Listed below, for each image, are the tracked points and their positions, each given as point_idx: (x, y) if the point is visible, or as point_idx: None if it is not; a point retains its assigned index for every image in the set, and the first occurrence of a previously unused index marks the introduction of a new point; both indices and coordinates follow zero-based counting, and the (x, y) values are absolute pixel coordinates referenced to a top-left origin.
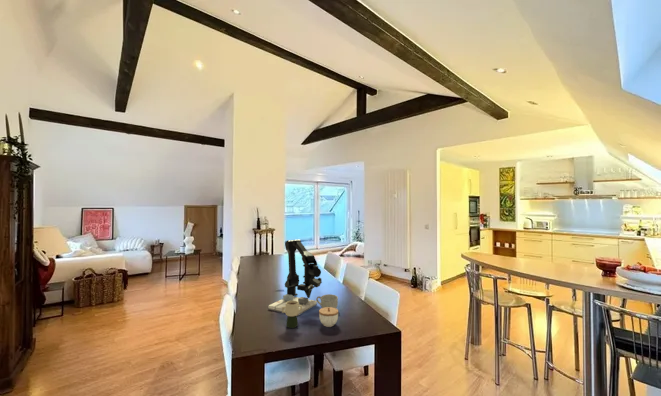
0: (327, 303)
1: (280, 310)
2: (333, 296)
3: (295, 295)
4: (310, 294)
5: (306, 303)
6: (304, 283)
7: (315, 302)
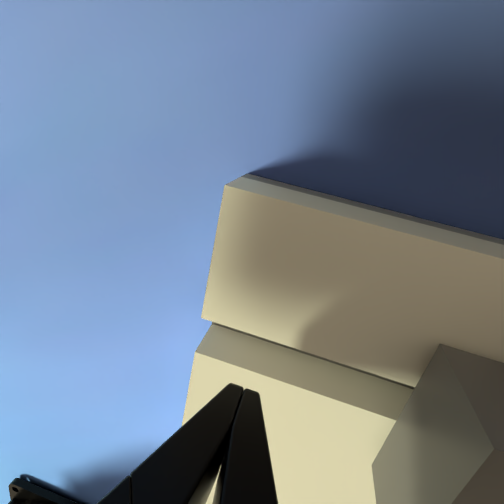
0: None
1: None
2: None
3: (51, 493)
4: (183, 431)
5: None
6: None
7: (283, 195)
